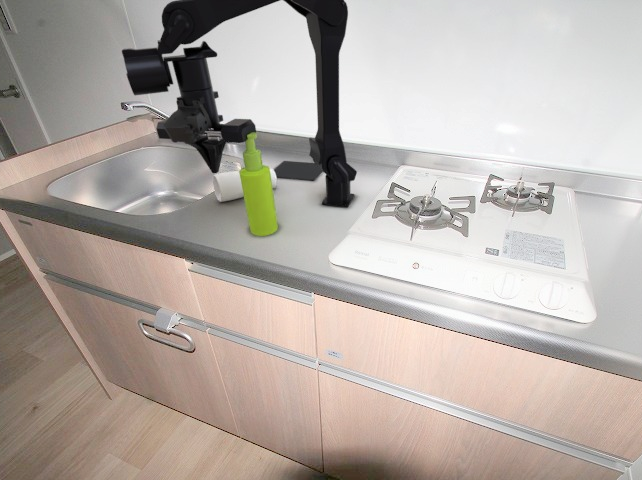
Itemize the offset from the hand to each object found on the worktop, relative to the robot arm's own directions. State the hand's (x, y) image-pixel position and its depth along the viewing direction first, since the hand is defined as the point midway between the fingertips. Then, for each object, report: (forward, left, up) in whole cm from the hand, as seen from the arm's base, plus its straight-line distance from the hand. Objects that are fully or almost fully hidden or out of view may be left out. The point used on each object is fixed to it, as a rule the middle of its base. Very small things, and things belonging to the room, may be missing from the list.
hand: (215, 172), depth 74 cm
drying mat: (+33, -4, -12) cm, 35 cm away
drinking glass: (+21, -2, -9) cm, 23 cm away
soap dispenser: (0, -9, -12) cm, 15 cm away
